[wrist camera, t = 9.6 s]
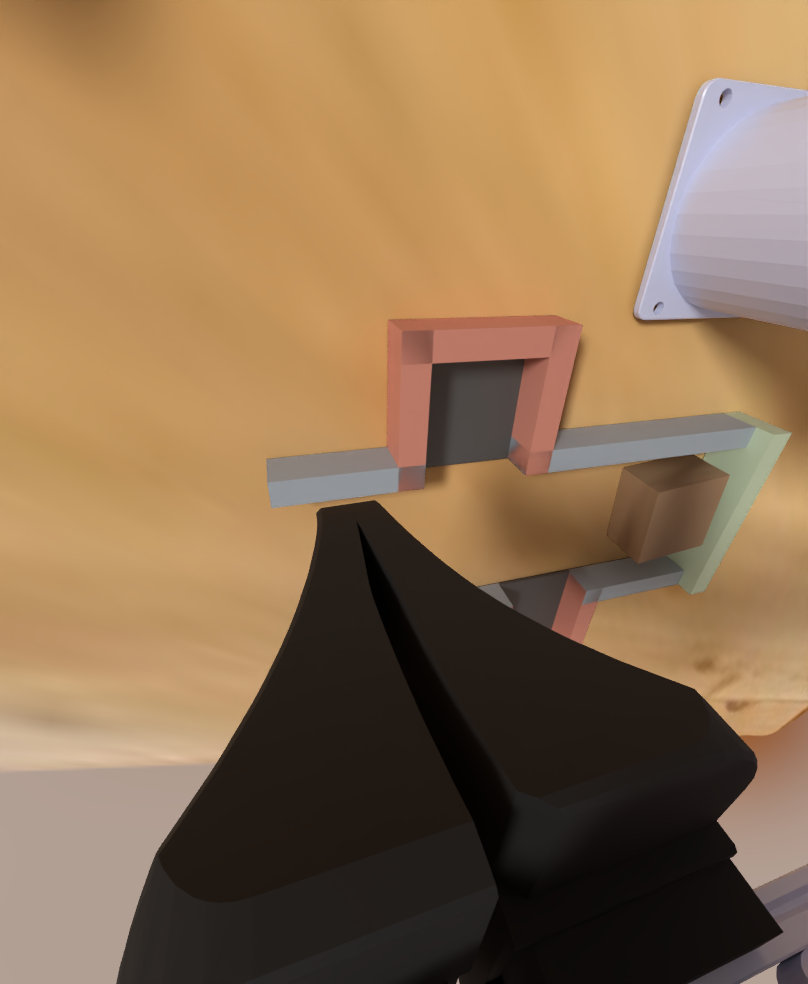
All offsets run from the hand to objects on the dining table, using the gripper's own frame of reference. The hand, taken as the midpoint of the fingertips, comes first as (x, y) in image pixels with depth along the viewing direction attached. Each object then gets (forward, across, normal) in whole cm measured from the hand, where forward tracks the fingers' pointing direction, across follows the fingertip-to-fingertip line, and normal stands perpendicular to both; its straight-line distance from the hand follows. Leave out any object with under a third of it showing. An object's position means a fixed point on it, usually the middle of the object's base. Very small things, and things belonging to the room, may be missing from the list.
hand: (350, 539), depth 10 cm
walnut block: (+10, -20, +8) cm, 23 cm away
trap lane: (+9, -11, +8) cm, 17 cm away
